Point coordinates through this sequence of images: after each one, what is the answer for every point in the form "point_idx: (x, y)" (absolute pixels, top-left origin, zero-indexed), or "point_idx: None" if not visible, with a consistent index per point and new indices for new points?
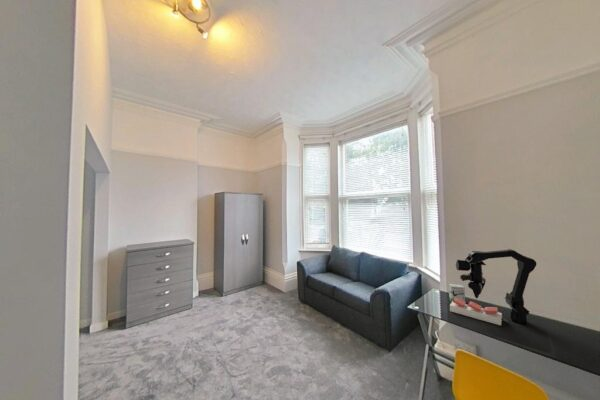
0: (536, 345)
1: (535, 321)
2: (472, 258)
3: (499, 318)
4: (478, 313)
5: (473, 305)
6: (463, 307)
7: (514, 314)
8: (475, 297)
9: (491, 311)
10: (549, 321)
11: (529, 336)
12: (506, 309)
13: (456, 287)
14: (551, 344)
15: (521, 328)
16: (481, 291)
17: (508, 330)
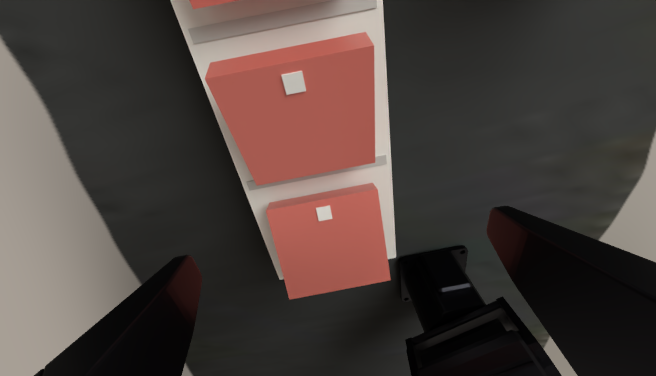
0: (208, 348)
1: (486, 300)
2: None
3: (277, 273)
4: (234, 159)
5: (258, 126)
6: None
7: (427, 299)
8: (169, 265)
9: (281, 261)
10: (524, 320)
11: (274, 324)
12: (600, 193)
13: None
14: (274, 361)
15: (339, 294)
16: (529, 296)
17: (250, 275)
